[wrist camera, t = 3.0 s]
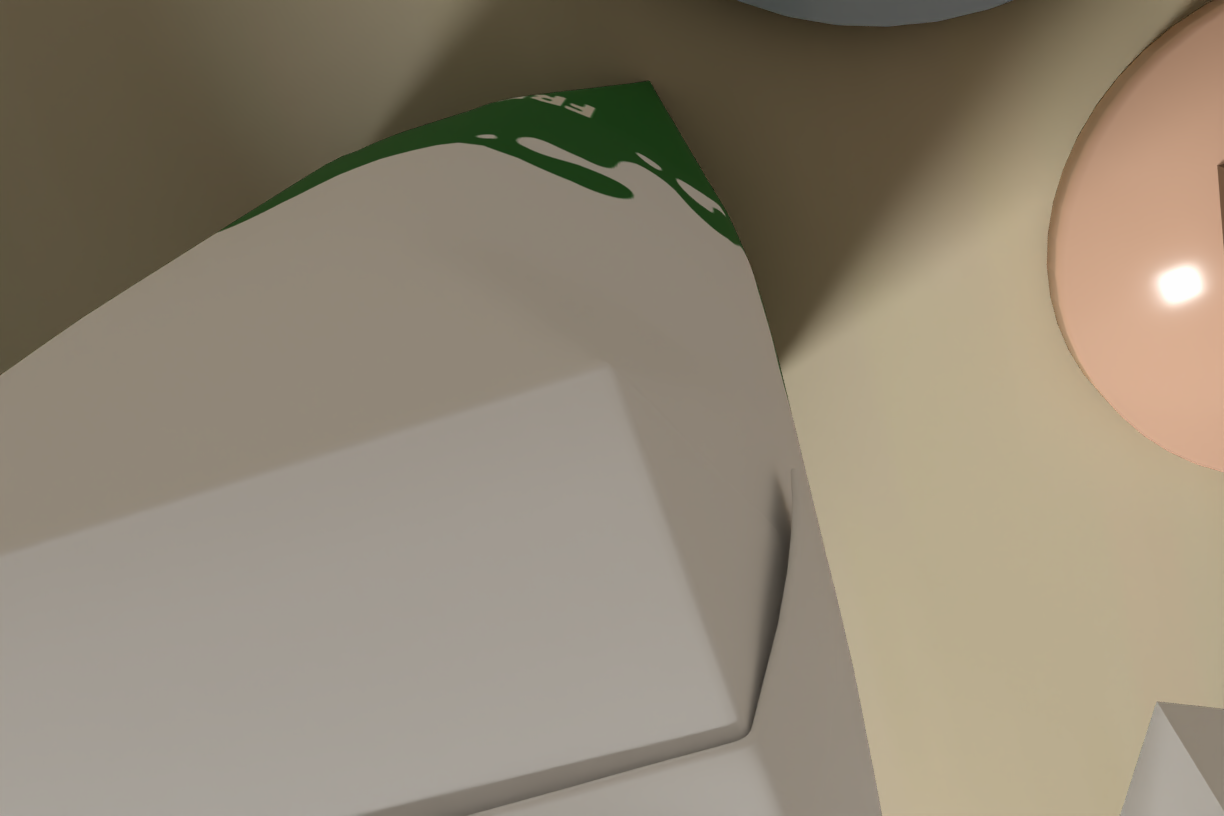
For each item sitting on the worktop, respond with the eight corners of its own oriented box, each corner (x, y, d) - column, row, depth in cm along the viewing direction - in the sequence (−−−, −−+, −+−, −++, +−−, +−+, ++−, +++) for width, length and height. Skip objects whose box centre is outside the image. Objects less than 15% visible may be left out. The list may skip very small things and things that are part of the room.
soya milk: (438, 531, 27) (-84, 1824, 8) (271, 156, 24) (-1112, 886, 5) (807, 422, 26) (1156, 1697, 7) (679, 9, 23) (694, 319, 4)
